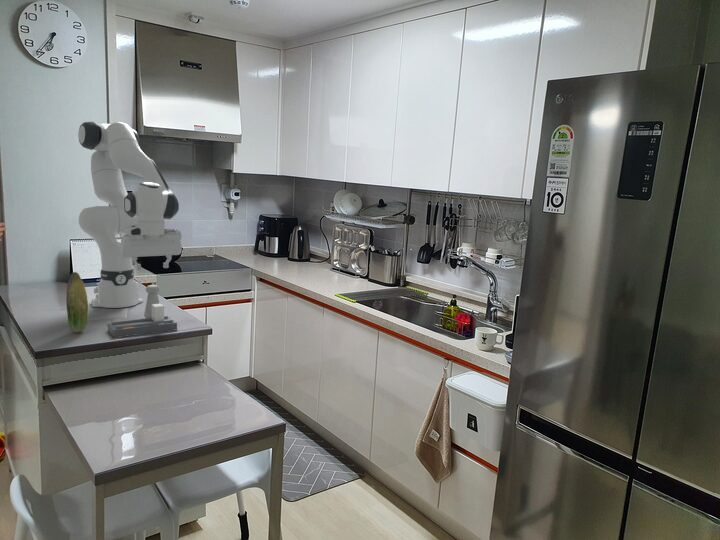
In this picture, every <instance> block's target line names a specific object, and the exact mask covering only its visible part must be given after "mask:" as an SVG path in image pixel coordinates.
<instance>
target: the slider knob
mask: <svg viewBox="0 0 720 540" xmlns="http://www.w3.org/2000/svg"><path fill="white" fill-rule="evenodd" d="M164 316H165V306H164V305H163V304H162V303H160V304H152V320H153V321H163V320H164Z"/></svg>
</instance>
